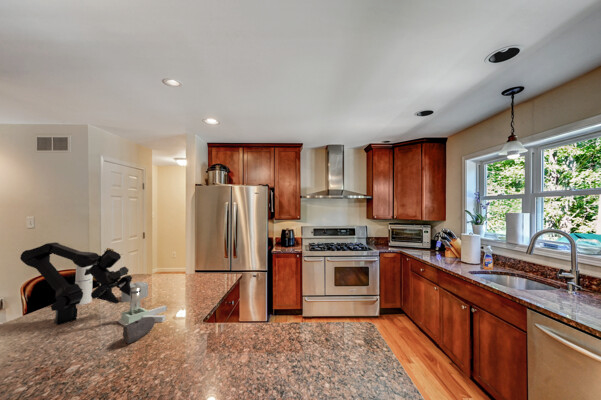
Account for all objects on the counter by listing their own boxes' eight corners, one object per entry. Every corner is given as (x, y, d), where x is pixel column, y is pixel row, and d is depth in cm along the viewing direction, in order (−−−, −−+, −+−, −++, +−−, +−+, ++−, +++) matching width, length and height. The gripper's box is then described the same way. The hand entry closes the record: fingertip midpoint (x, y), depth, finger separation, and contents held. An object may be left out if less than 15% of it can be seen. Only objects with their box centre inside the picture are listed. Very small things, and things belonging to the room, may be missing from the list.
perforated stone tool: (149, 327, 104) (150, 311, 105) (159, 328, 103) (160, 312, 103) (116, 346, 90) (117, 327, 90) (128, 347, 88) (128, 328, 89)
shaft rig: (135, 332, 100) (135, 322, 100) (117, 321, 110) (118, 313, 110) (179, 315, 116) (179, 307, 116) (160, 307, 125) (161, 300, 126)
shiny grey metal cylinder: (129, 321, 108) (130, 289, 109) (129, 318, 112) (130, 287, 112) (140, 318, 111) (141, 288, 111) (140, 315, 114) (140, 285, 115)
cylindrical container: (70, 304, 131) (73, 257, 132) (86, 299, 138) (88, 255, 139) (80, 305, 129) (82, 258, 130) (94, 301, 136) (96, 256, 137)
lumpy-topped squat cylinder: (150, 295, 145) (150, 280, 145) (129, 303, 132) (130, 287, 133) (137, 293, 148) (137, 279, 148) (115, 301, 135) (116, 285, 136)
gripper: (99, 267, 103) (124, 293, 103) (129, 258, 122) (150, 281, 121) (79, 285, 102) (104, 312, 102) (112, 274, 121) (133, 296, 121)
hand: (125, 299), depth 112 cm, fingers open, 9 cm apart
